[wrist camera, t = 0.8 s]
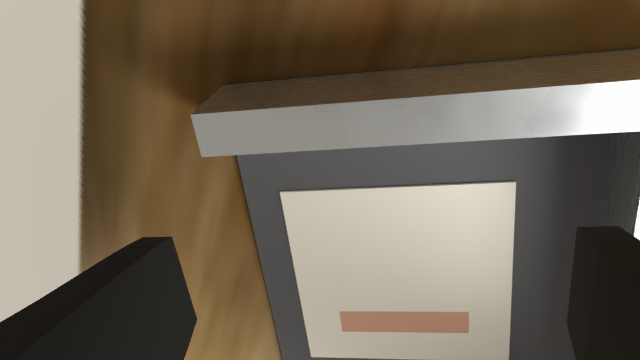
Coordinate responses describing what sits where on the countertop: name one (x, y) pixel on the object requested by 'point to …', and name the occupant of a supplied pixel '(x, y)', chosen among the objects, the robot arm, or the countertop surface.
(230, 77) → the countertop surface
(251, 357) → the countertop surface
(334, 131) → the arena
